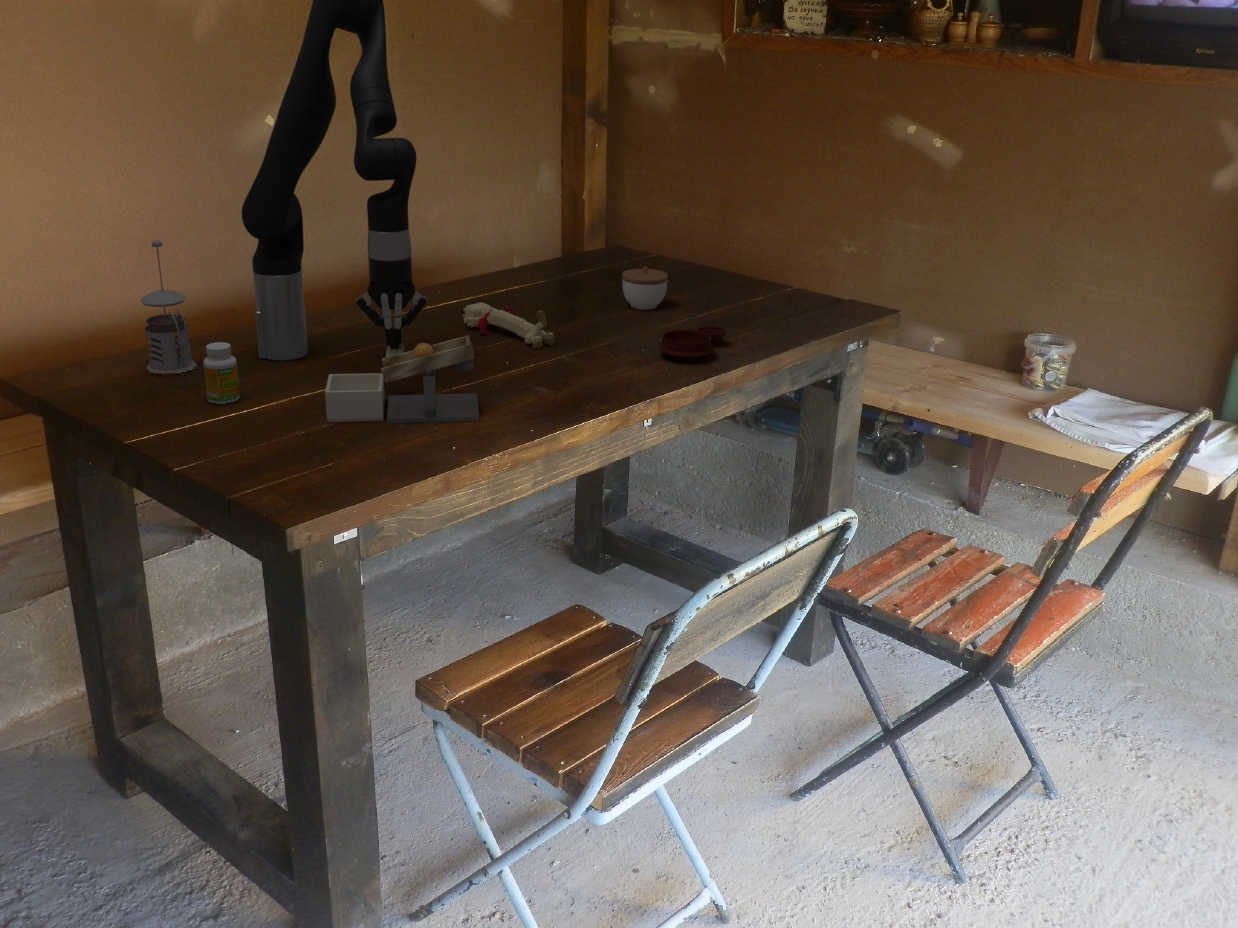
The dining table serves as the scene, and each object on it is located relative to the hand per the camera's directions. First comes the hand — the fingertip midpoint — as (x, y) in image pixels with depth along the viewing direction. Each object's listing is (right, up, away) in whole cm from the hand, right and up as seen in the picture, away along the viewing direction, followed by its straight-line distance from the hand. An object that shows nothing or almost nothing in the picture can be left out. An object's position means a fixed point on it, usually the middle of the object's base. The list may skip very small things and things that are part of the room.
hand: (394, 347), depth 220 cm
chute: (+8, -4, -3) cm, 9 cm away
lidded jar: (+47, +16, +64) cm, 81 cm away
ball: (+7, -2, -8) cm, 11 cm away
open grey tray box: (-6, -12, -6) cm, 14 cm away
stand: (+7, -12, -4) cm, 14 cm away
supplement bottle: (-31, -10, -2) cm, 32 cm away
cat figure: (+16, +6, +40) cm, 44 cm away
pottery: (+57, +2, +33) cm, 66 cm away
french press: (-45, -3, +13) cm, 47 cm away
